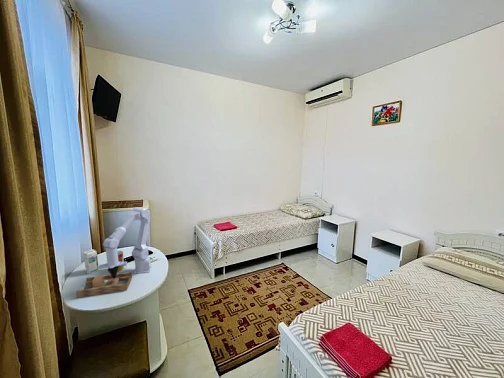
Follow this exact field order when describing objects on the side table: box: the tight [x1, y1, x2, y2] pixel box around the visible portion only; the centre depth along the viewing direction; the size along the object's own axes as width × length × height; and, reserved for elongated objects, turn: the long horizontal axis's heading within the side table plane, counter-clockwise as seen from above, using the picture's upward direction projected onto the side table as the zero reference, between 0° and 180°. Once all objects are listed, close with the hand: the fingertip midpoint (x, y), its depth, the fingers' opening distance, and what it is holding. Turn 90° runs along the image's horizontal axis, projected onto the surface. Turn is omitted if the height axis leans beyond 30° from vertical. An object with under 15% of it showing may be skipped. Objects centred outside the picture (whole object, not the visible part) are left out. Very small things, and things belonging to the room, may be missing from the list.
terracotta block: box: [92, 275, 104, 288], centre depth 130 cm, size 4×4×4 cm
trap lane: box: [75, 271, 133, 299], centre depth 131 cm, size 25×14×4 cm, turn 107°
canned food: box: [117, 250, 125, 273], centre depth 151 cm, size 8×8×12 cm
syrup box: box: [83, 249, 100, 275], centre depth 148 cm, size 6×6×14 cm
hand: (114, 277), depth 134 cm, fingers closed
